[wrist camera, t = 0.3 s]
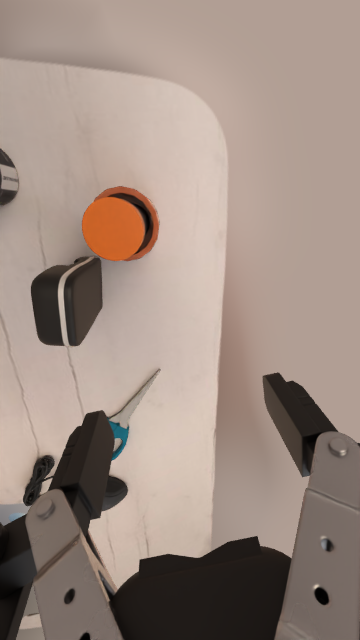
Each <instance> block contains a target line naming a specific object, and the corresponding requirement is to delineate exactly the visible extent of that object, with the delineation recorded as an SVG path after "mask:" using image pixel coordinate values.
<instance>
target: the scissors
mask: <svg viewBox="0 0 360 640" xmlns="http://www.w3.org/2000/svg"><path fill="white" fill-rule="evenodd" d="M159 372H160V369H159V370H158V371H157V372H156V373H155V374H154V375H153V377H152V378H151V379H150V380H149V381H148V382H147V383H146V384H145V386H144V387H143V388H142V389H141V390H140V391H139V392H138V393H137V394H136V396H135V397H134V398H133V399H132V400H131V401H130V402H129V403H128V404H127V405H126V407H125V408H124V409H123V410H122V411H121V412H120V413H119V414H117V415H115V416H114V417H112V418H110V419H109V418H107V419H108V421H109V423H110V426H111V428H112V430H113V433H114V438H120V439H122V441H123V442H122V444H121V445H120V447H119V448H118V449H117V451H116V452H115V453H113V455H112V460H114V459H116V458H117V457H118V455H119V454H120V453H121V452H122V450H123V449H124V447H125V445H126V442H127V438H128V431H129V427H127V425H128V420H129V418H130V416H131V414H132V413H133V411H134V410H135V408H136V407H137V405H138V404H139V402H140V401H141V399H142V398H143V396H144V395H145V393H146V392H147V390H148V389H149V387H150V386H151V384H152V383H153V381H154V380H155V378H156V377H157V375H158V374H159ZM119 421H120V423H118V422H119ZM112 460H111V461H112Z"/></svg>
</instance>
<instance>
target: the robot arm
mask: <svg viewBox="0 0 360 640" xmlns="http://www.w3.org/2000/svg"><path fill="white" fill-rule="evenodd" d="M263 388H264V398H265V403H266V407H267V410H268V412H269V414H270V416H271V418H272V420H273V422H274V424H275V426H276V428H277V429H278V431H279V433H280V435H281V437H282V439H283V441H284V443H285V445H286V447H287V448H288V450H289V452H290V454H291V456H292V458H293V460H294V462H295V464H296V466H297V467H298V470H299V471H300V473H301V475H302V477H305V476H310V478H309V483H308V488H306V490H305V493H304V498H303V503H302V508H301V513H300V519H299V524H298V529H297V534H296V539H295V544H294V549H293V555H292V558H290V557H288V556H287V555H285V554H284V553H282V552H279V551H277V550H275V549H272V548H268V547H263V546H260V544H259V541H258V537H257V536H255V537H250V538H246V539H240V540H235V541H230V542H227V543H226V544H224V545H222V546H220V547H218V548H217V549H215V550H213V551H211V552H210V553H208V554H206V555H204V556H203V557H200V558H193V557H186V556H179V555H172V554H166V555H161V556H156V557H151V558H146V559H141V560H140V563H139V572H137V573H135V574H134V575H133V576H131V577H130V578H129V579H128V580H127V581H126V582H125V583H124V584H123V585H122V586H121V587H120V588H119V589H117V587H116V585H115V584H114V582H113V580H112V578H111V577H110V575H109V573H108V571H107V569H106V566H105V564H104V562H103V560H102V558H101V556H100V553H99V551H98V549H97V547H96V545H95V543H94V541H93V538H92V536H91V534H90V532H89V530H88V528H89V524H90V520H92V519H97V518H100V516H101V511H102V506H103V501H104V496H105V491H106V485H107V480H108V475H109V470H110V465H111V460H112V455H113V450H114V444H115V438H114V433H113V430H112V428H111V426H110V423H109V421H108V419H107V417H106V415H105V413H104V411H103V410H101V411H96V412H92V413H87V414H86V416H85V418H84V421H83V424H82V426H78V427H77V428H76V429H75V430H74V431H73V433H72V434H71V435H70V437H69V439H68V442H67V444H66V449H64V452H63V454H62V457H61V459H60V462H59V464H58V467H57V469H56V472H55V474H54V477H53V479H52V482H51V484H50V487H49V489H48V491H47V492H46V493H44V494H42V495H41V496H40V497H39V498H38V499H37V500H36V501H35V502H34V503H33V504H32V506H31V507H30V509H29V511H28V513H27V514H25V515H24V516H22V517H20V518H18V519H16V520H14V521H12V522H11V523H9V524H7V525H5V526H3V525H2V524H1V523H0V640H16V637H17V633H18V630H19V627H20V623H21V620H22V617H23V613H24V610H25V607H26V604H27V600H28V597H29V593H30V590H31V587H32V584H33V586H34V591H35V595H36V600H37V604H38V609H39V614H40V618H41V623H42V627H43V632H44V636H45V640H360V443H356V442H355V441H354V440H353V439H352V438H350V437H349V436H347V435H345V434H342V433H339V432H338V431H337V430H336V428H335V427H334V426H333V424H332V423H331V422H330V421H329V419H328V418H327V417H326V416H325V414H324V413H323V412H322V411H321V409H320V408H319V407H318V405H317V404H315V402H314V400H313V399H312V398H311V397H310V396H309V394H308V393H307V392H306V390H305V389H304V388H303V387H302V386H301V385H299V384H297V383H295V382H294V381H289V382H286V381H285V380H284V379H283V377H282V376H281V375H280V373H274V374H270V375H265V376H263Z"/></svg>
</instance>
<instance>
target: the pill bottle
mask: <svg viewBox="0 0 360 640" xmlns="http://www.w3.org/2000/svg"><path fill="white" fill-rule="evenodd" d="M17 190H18V175H17V171H16V169H15V166H14V164H13V162H12V161H11V159H10V158H9V157H8V155H7V154H6V153H5V152H4V151H3V150H2V149H0V205H4V204H6V203H8V202H10V201H11V200H12V199H13V198H14V196H15V195H16V193H17Z"/></svg>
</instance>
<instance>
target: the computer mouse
mask: <svg viewBox="0 0 360 640" xmlns="http://www.w3.org/2000/svg"><path fill="white" fill-rule="evenodd" d="M44 459H46V460H44ZM47 459H50V460H51V461H52V462H53V463H52V464H51V462H50V461H49V460H48V461H47ZM53 466H54V460H53V458H51V457H49V456H46V457H43V458H42V459H41V460H40V461H37V462H36V463H35V465H34V469H33V477H32V478H31V482H30V483H29V484H28V486H27V487H26V490H25V494H24V497H23V502H24V503H25V505H26V506H31V505H32V504H33V503H34V502H35V501H36V500H37V499H38V498H39V497H40V496H39V494H40V491H41V485H42V482H44V481H46V480H48V479H50V478H53V477H54V476H51V477H48V478H46V479H44V478H45V477H46V476H47V475H48V474H49V473H50V471H51V469H52V468H53ZM40 469H41V470H40ZM33 490H34V493H31V491H33ZM127 492H128V489H127V486H126V485H125V483H124V482H123V481H121V480H118V479H116V478H113V477H108V480H107V485H106V491H105V496H104V501H103V506H102V511H105V510H108V509H110V508H112V507H114V506H115V505H117V504H118V503H119V502H120V501H121V500H122V499H123V498H124V497H125V496H126V495H127ZM102 511H101V512H102Z"/></svg>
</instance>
